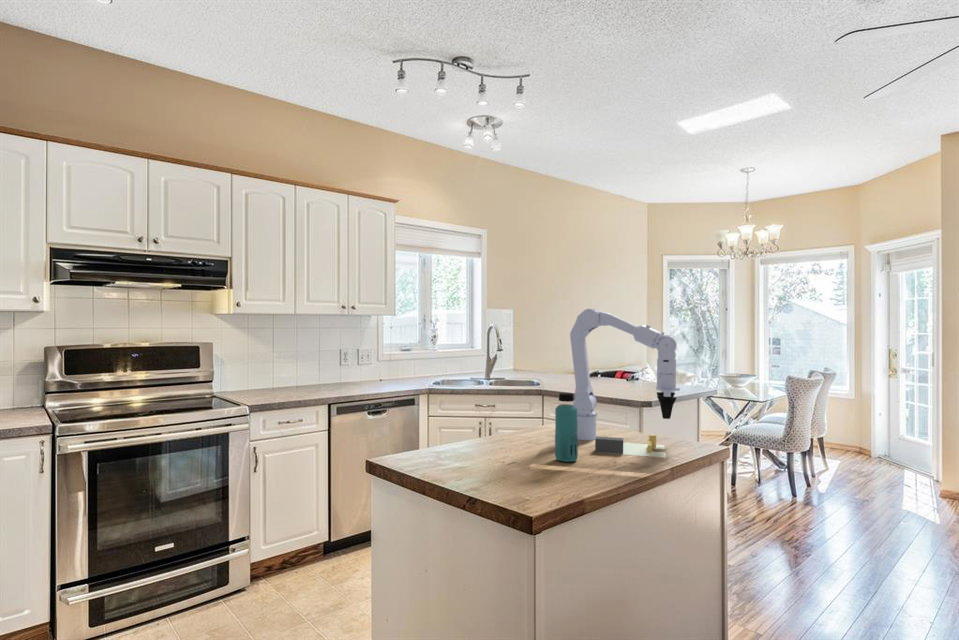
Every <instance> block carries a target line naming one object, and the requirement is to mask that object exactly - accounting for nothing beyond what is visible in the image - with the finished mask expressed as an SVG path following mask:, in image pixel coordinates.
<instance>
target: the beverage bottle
mask: <svg viewBox="0 0 959 640" xmlns="http://www.w3.org/2000/svg"><path fill="white" fill-rule="evenodd" d="M574 400H575V397H574V393H572V392H571V393H570V392H560V393H559V395H558V402H566V403H565V404H564V403H563V404H561V403H560V404H558V405H557V406H556V407H555V408H554V413H555V417H554V418H555V419H554V421H555V423H554V424H555V425H554V427H555V430H554V457H555V459H556V460H557V461H559V462H575V461H577V460H578V456H579V454H578V452H579V450H578V447H579V443H578V439H577V426H578V423H577V421H578V420H577V408H576V407H575V406H574V405H573V404H567V402H568V403H569V402H574Z"/></svg>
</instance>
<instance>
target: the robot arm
mask: <svg viewBox="0 0 959 640" xmlns="http://www.w3.org/2000/svg"><path fill="white" fill-rule="evenodd" d="M601 326H602V327H603V326H605V327H606V326H611V327H612V328H615V329H617V330H620V331H622V332H625V333H628V334H630V335H632V336H633V339H634V341H635V342H637V343H640V344H642V345H644V346H646V347H648V348H651V349H652V350H655V349H656V350H657V359H656V387H655V389H656V397H657V399H658V401H659V404H660V406H659V407H660V412H661V416H662V419H665V420H670V419H671V416H672V413H673V407H674V404H675V402H676V400H677V396H675V395H676V392H677V391H678V392H679V391H680V390H681V389H680V387H677V385H676V384H677V359H676V357H677V353H676V349H677V341H676V339H675V338H674V337H672V336H671V335H669V334H666V335H665V333H666V332H664V331H661V332H660V331H659V330H656V329H653V328H652V327H651V325H650V324H641V325H638V326H637V325H635V324H633V323H631V322H628V321H626V320H625V319H622V318H620V317H618V316H616V315H614V314H612V313H609V312H606V311H603V310H602V311H601V310H598V309H595V308H587V309H584V310H583V311H581V312H580V313H579V314H578V315H577V317H576V320H575V323H574V325H573V327H572V328H571V330H570V333H569V336H570V337H569V338H570V345H571V346H570V347H571V354H572V364H573V371H574V372H573V373H574V382H575V390H574V401H573V404H572V405H574V406H575V407H576V408H577V420H578V421H577V423H578V426H577V439H578V440H579V441H594V440H595V438H596V436H597V413H596V411H595V408H596V406H597V403H598V402H597V401H598V400H597V398H596V396H595V394H594V391H593V387H592V385H591V375H590V368H589V367H590V366H589V359H588V358H589V357H588V350H587V342H586V339H587V338H588V336H589V335H590V333H591V332H592V331H594V330H595V329H597V328H599V327H601ZM578 440H577V441H578Z"/></svg>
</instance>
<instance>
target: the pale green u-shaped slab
mask: <svg viewBox="0 0 959 640" xmlns="http://www.w3.org/2000/svg"><path fill="white" fill-rule="evenodd" d="M653 450H665V445H664V444H657V435H656V434H649V435H648V440H647V443H638V442H637V443H635V442H623V454H622V455H623V456H625V455H626V456H638V457H640V456H641V457H651V458H665V459H666V457H667V456H666V452H661V451H653ZM594 453H598V454H601V453H600V452H595V451H594ZM608 454H612V455H615V454H614V453H608Z"/></svg>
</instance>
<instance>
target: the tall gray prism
mask: <svg viewBox="0 0 959 640" xmlns="http://www.w3.org/2000/svg"><path fill="white" fill-rule="evenodd" d="M623 443H624V437H615V436H614V437H612V436H611V437H610V436H597V435H596V438H595V444H594V453H595V452H600V453H599V454H609V453H614V454H613V455H623Z"/></svg>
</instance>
